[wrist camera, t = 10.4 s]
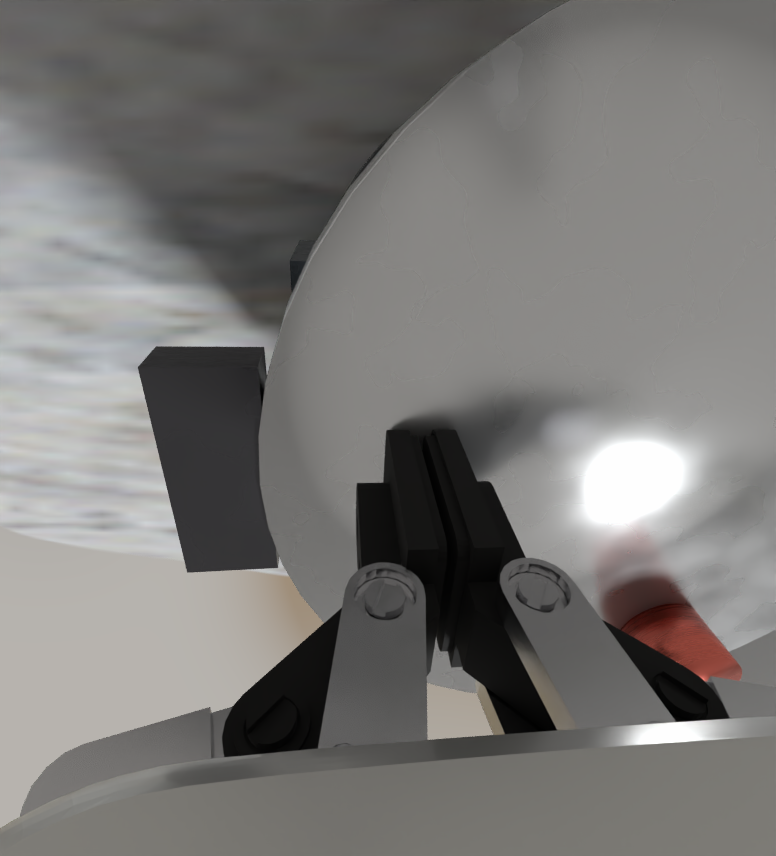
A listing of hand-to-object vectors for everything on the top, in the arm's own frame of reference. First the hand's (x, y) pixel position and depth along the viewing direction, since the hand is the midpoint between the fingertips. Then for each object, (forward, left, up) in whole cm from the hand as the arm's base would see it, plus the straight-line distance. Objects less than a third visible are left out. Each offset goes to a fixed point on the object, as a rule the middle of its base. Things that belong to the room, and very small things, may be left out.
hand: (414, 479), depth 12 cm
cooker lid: (-6, 0, -2) cm, 6 cm away
